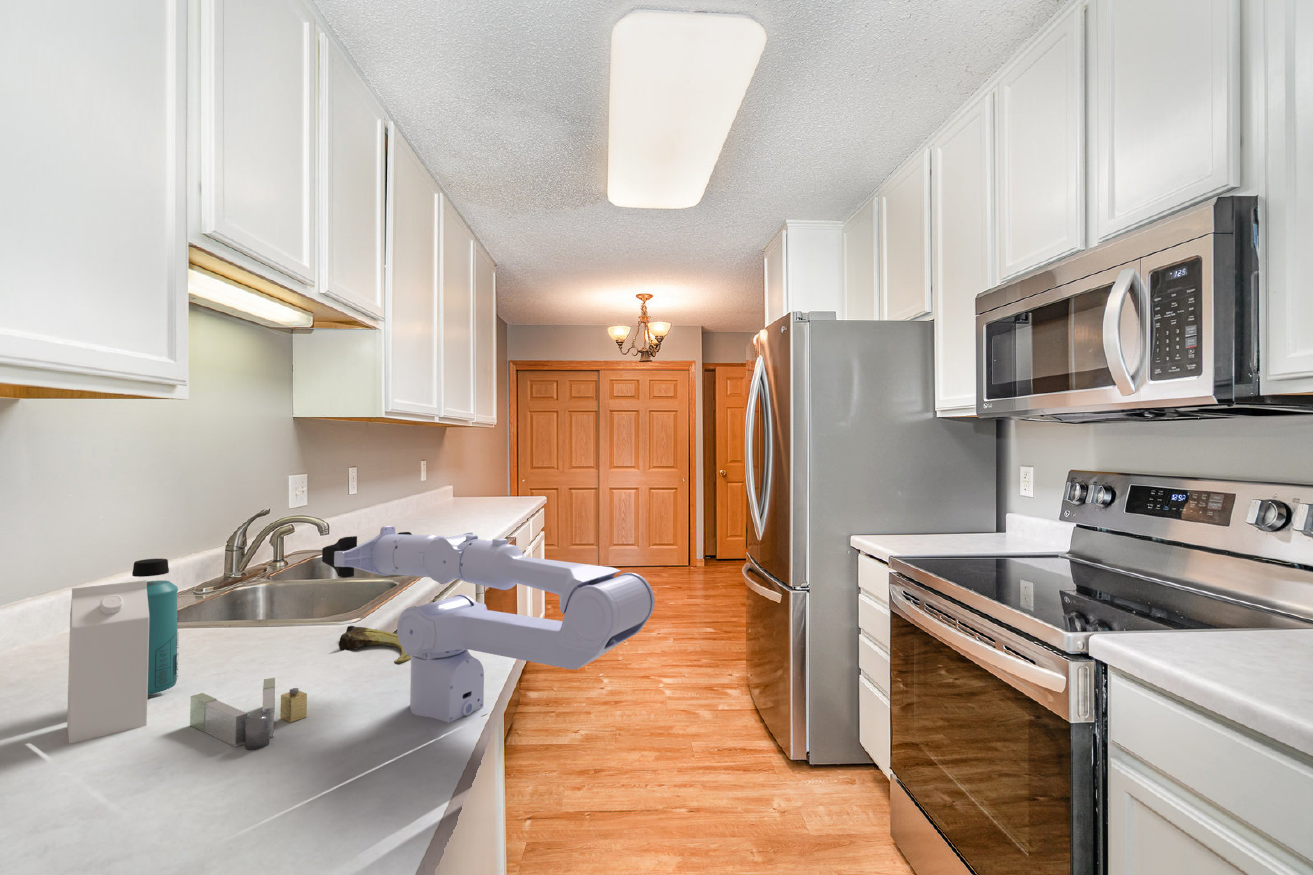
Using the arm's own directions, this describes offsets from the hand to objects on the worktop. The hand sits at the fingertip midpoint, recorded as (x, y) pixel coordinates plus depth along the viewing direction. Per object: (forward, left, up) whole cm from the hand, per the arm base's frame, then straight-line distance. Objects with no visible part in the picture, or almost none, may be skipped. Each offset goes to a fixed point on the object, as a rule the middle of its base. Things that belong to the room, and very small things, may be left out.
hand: (348, 552), depth 95 cm
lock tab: (-7, +12, -19) cm, 23 cm away
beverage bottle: (+20, +17, -21) cm, 34 cm away
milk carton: (+10, +25, -21) cm, 34 cm away
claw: (+12, -15, -21) cm, 28 cm away
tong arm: (-5, +14, -19) cm, 24 cm away
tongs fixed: (-5, +18, -19) cm, 27 cm away
